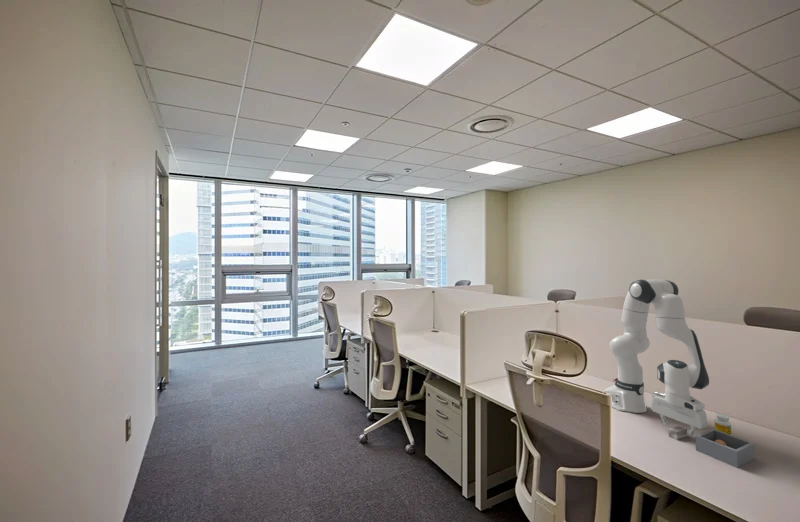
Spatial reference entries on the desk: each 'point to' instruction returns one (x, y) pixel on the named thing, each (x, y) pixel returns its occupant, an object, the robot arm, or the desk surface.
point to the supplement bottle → (723, 424)
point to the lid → (677, 432)
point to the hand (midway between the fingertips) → (677, 429)
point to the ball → (720, 442)
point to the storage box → (725, 448)
